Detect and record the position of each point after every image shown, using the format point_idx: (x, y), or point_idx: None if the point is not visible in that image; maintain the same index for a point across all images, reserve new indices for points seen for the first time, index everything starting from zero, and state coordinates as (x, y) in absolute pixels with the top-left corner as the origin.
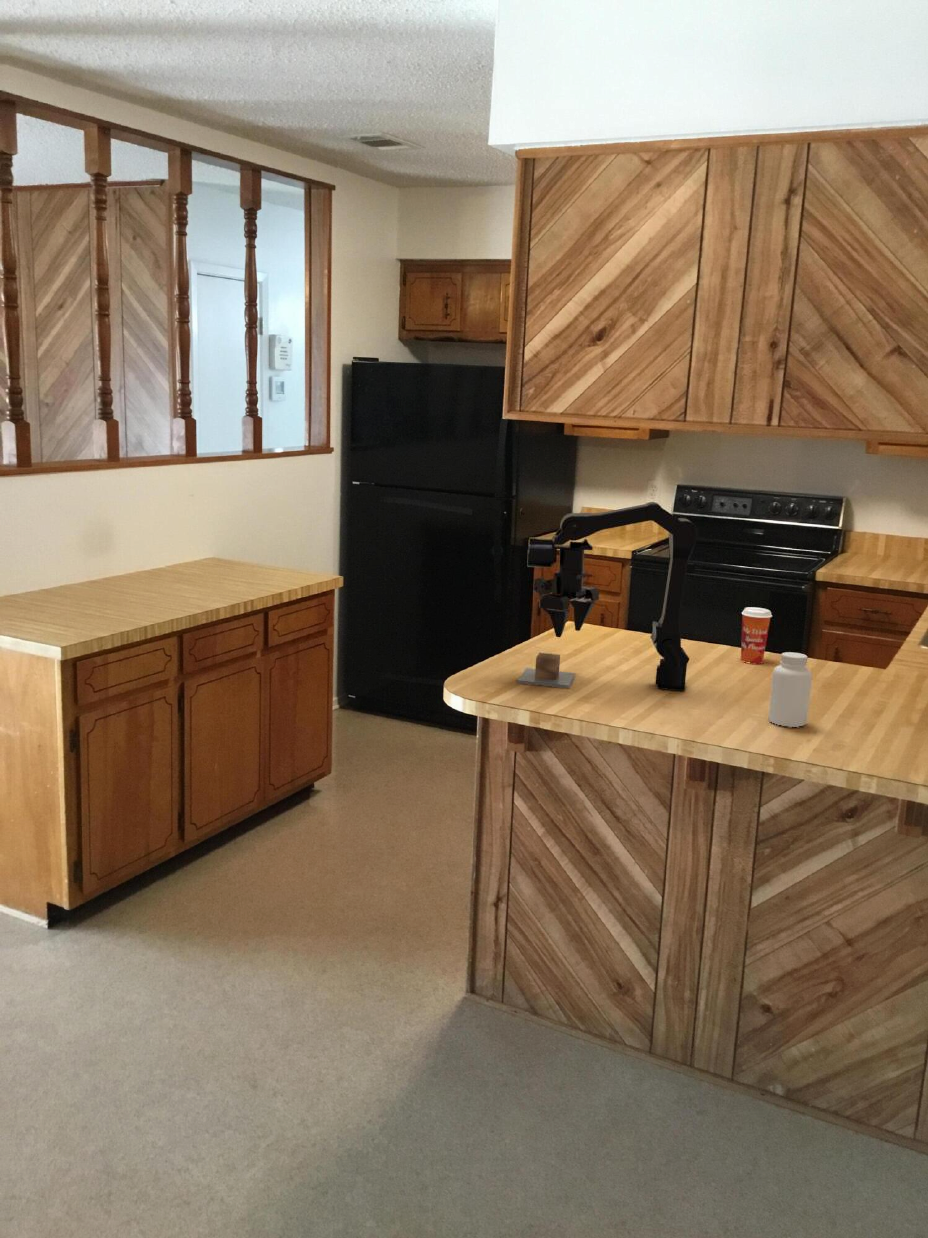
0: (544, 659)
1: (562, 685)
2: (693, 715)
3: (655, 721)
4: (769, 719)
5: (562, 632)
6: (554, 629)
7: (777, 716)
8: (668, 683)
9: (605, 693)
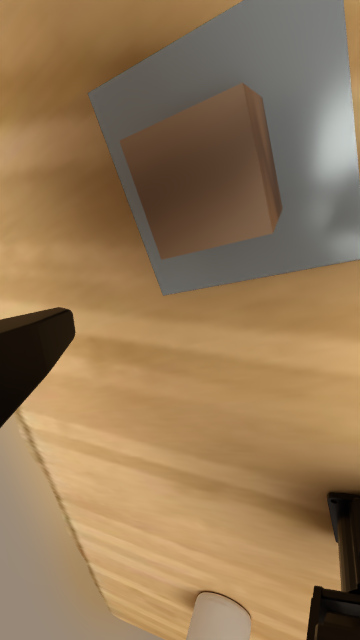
0: (141, 190)
1: (156, 274)
2: (167, 517)
3: (91, 467)
4: (209, 596)
5: (50, 367)
6: (1, 323)
7: (194, 609)
8: (338, 528)
9: (196, 385)
